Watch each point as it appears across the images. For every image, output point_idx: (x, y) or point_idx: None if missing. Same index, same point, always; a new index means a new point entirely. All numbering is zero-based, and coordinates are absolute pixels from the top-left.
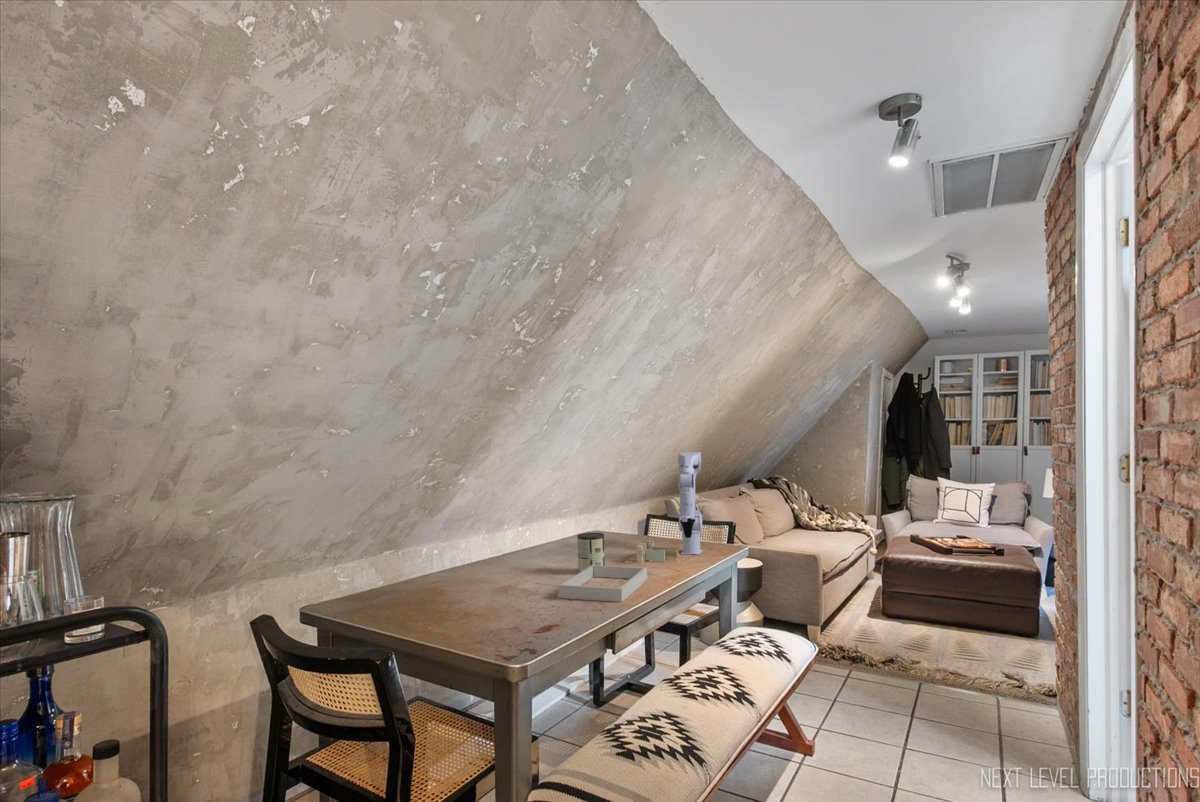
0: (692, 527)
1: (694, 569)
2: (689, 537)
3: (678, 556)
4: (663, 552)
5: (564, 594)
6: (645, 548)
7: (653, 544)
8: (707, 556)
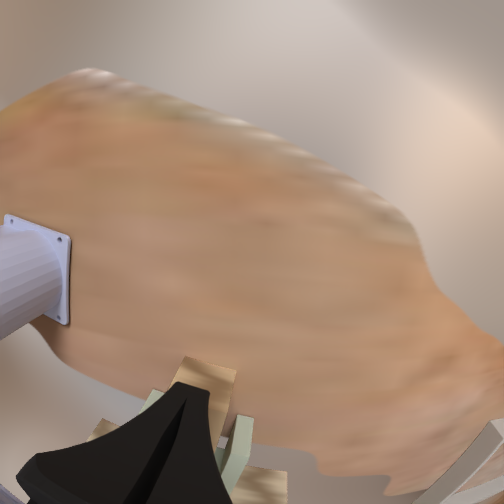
0: (139, 443)
1: (441, 296)
2: (208, 399)
3: (181, 365)
4: (249, 451)
5: None
6: None
7: None
8: (98, 192)
